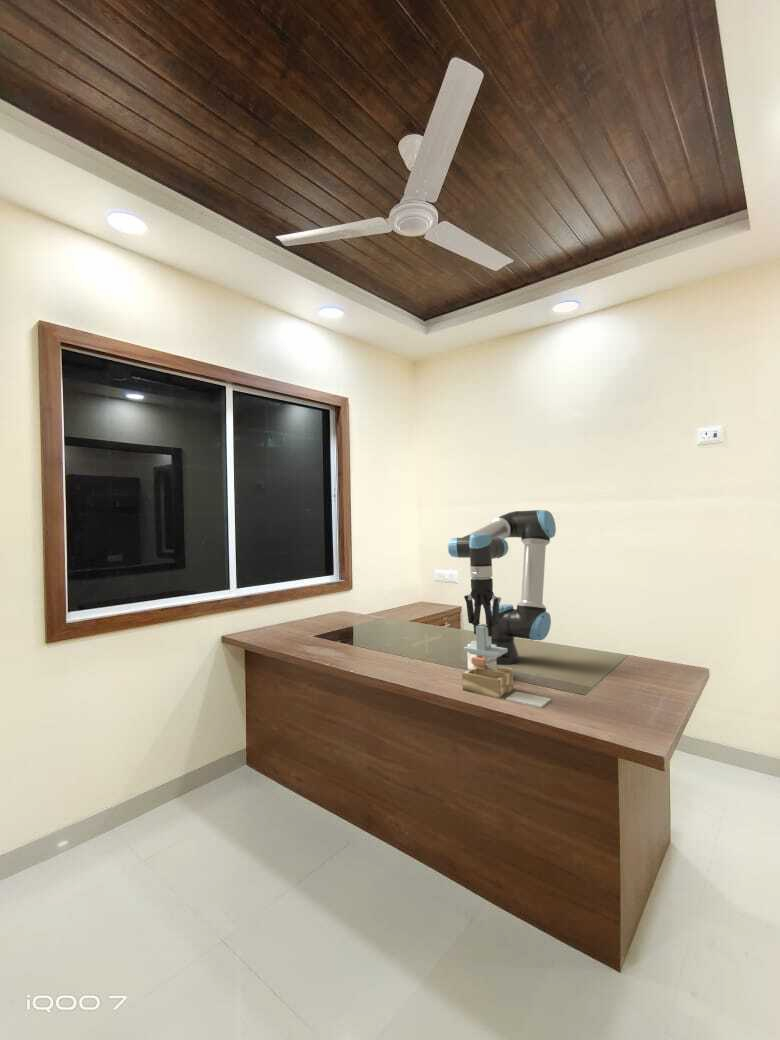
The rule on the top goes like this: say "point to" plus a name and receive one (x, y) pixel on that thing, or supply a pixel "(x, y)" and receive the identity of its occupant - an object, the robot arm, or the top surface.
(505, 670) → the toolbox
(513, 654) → the robot arm
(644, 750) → the top surface
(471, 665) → the ink box
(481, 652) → the lid
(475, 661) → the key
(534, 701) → the mat
